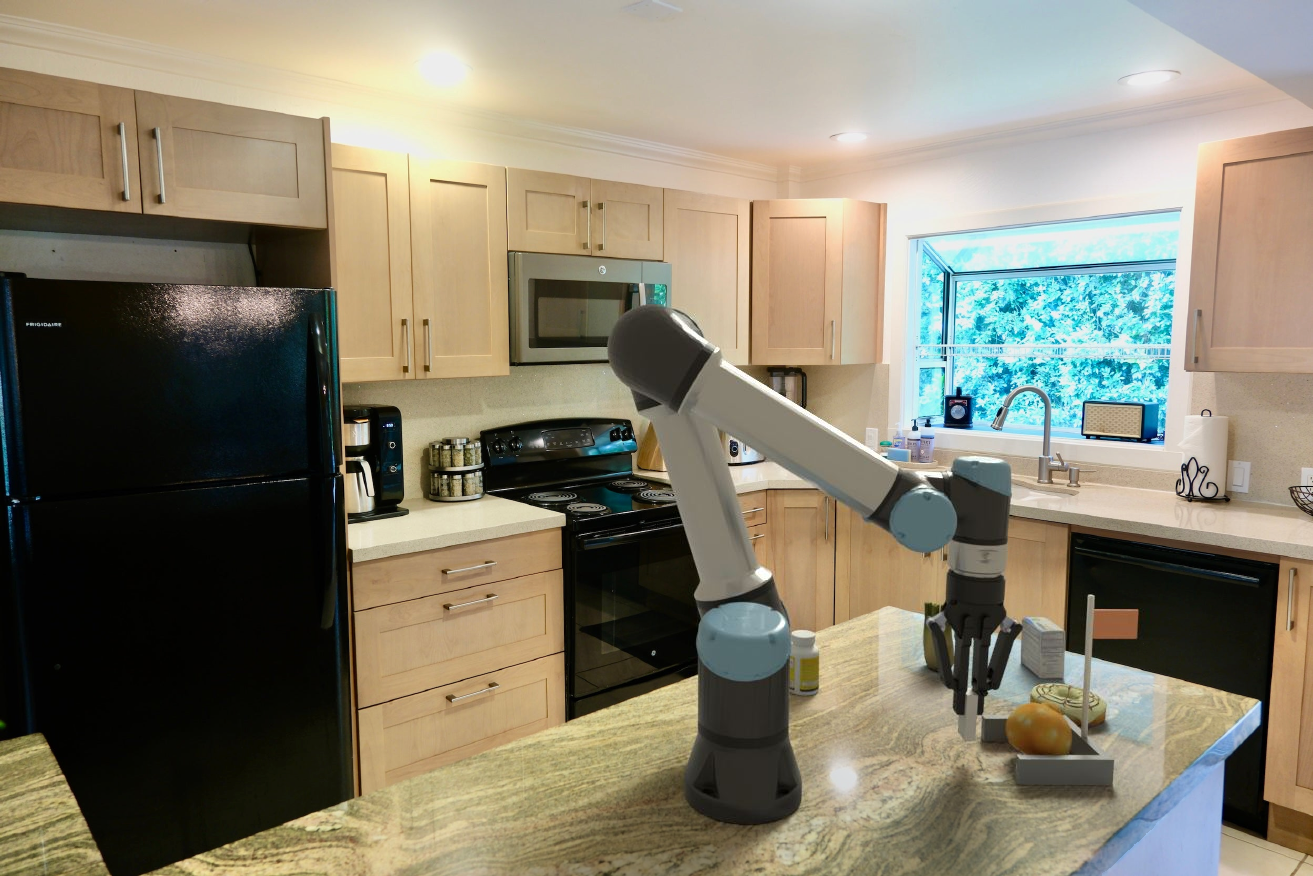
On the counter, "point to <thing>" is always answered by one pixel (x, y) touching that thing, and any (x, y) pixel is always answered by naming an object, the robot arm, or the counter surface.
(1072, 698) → the decorated donut
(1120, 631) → the flagpole corner frame
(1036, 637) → the medicine box
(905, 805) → the counter surface
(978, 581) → the robot arm
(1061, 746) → the fruit
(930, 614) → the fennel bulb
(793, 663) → the supplement bottle
